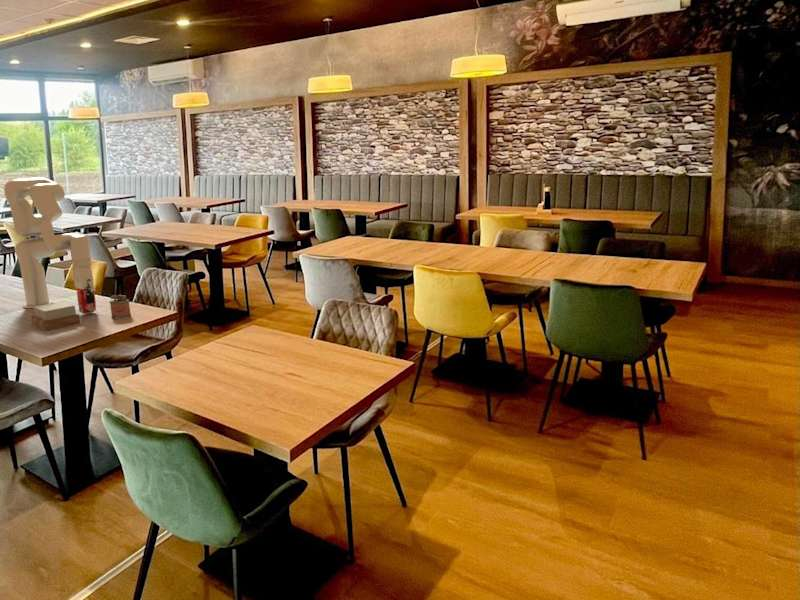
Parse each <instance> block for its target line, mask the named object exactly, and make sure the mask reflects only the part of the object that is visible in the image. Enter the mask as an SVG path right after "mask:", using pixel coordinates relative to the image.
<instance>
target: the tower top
mask: <svg viewBox="0 0 800 600" xmlns="http://www.w3.org/2000/svg"><path fill="white" fill-rule="evenodd" d="M32 309H33V312H34V315H35V316H36V317H38V318H41V319H43V320H45V321H48V320H52V319H57V318H62V317H67V316H72V315H76V305H74V304H71V303H69V302H66V301H58V302H53V303H51V304H46V305H41V306H36V307H33V308H32Z"/></svg>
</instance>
